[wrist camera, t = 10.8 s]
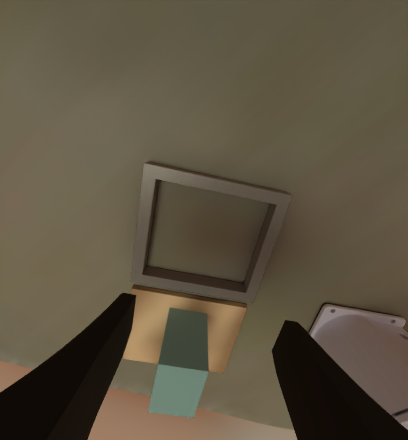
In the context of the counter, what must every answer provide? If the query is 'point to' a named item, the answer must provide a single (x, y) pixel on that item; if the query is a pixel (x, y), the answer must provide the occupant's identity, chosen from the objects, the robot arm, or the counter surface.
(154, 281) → the grey flat square frame
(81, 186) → the counter surface
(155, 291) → the board
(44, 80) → the counter surface
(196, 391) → the block
